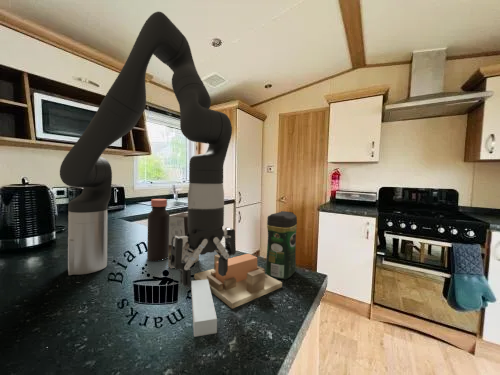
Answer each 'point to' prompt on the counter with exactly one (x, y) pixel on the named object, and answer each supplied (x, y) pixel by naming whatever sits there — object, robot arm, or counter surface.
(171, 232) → the coffee box
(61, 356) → the counter surface
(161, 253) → the bottle
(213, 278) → the jig
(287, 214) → the coffee jar
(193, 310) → the light grey bar
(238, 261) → the tall peach block
